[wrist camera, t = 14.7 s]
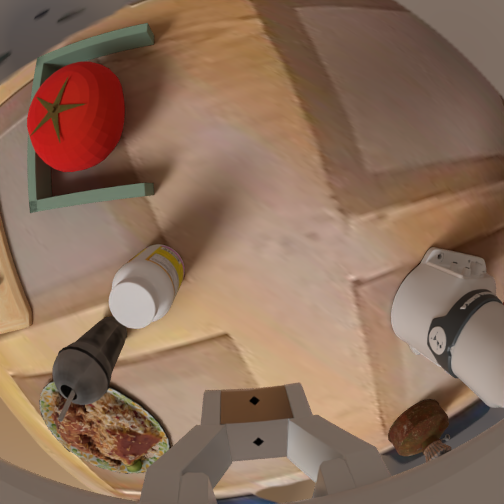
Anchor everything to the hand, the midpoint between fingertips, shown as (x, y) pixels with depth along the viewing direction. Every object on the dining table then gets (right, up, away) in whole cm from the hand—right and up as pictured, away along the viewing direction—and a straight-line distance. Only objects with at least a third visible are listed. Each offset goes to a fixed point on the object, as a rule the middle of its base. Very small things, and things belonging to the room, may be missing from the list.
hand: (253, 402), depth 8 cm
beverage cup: (-20, -7, +30) cm, 37 cm away
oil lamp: (+36, -33, +40) cm, 63 cm away
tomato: (-21, +22, +24) cm, 39 cm away
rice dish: (-29, -30, +35) cm, 54 cm away
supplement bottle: (-12, +3, +29) cm, 31 cm away
